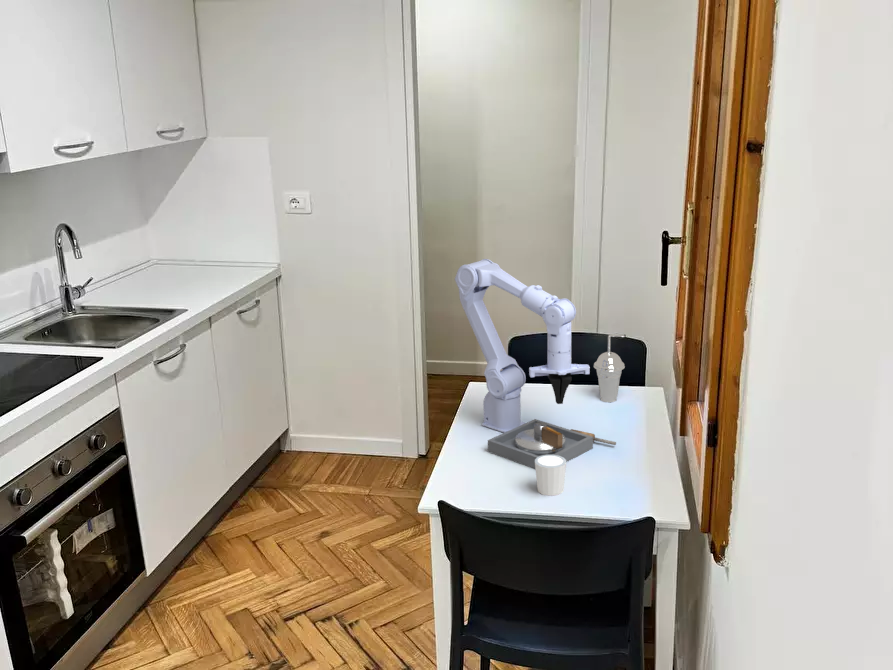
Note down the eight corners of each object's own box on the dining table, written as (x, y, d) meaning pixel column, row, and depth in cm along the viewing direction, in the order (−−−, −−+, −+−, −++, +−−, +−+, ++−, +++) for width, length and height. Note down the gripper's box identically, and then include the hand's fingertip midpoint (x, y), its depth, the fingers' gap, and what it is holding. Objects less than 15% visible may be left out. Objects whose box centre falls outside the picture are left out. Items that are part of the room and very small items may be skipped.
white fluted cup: (546, 500, 177) (546, 470, 175) (528, 487, 183) (528, 458, 181) (572, 492, 180) (572, 462, 178) (554, 480, 186) (554, 451, 184)
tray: (487, 451, 202) (487, 440, 201) (535, 429, 214) (535, 418, 213) (546, 472, 189) (546, 460, 189) (592, 448, 202) (592, 436, 201)
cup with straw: (615, 392, 238) (616, 325, 232) (630, 403, 230) (632, 333, 224) (588, 396, 236) (588, 328, 230) (602, 407, 227) (603, 337, 222)
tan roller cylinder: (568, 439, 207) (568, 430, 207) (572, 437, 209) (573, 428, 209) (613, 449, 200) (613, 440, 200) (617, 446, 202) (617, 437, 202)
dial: (505, 442, 203) (505, 422, 202) (544, 430, 209) (544, 411, 208) (539, 461, 192) (539, 439, 191) (579, 448, 198) (579, 427, 197)
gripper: (532, 356, 197) (532, 410, 200) (592, 353, 197) (592, 406, 201) (527, 347, 203) (528, 399, 207) (586, 344, 204) (585, 396, 208)
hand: (559, 402), depth 205 cm, fingers closed
